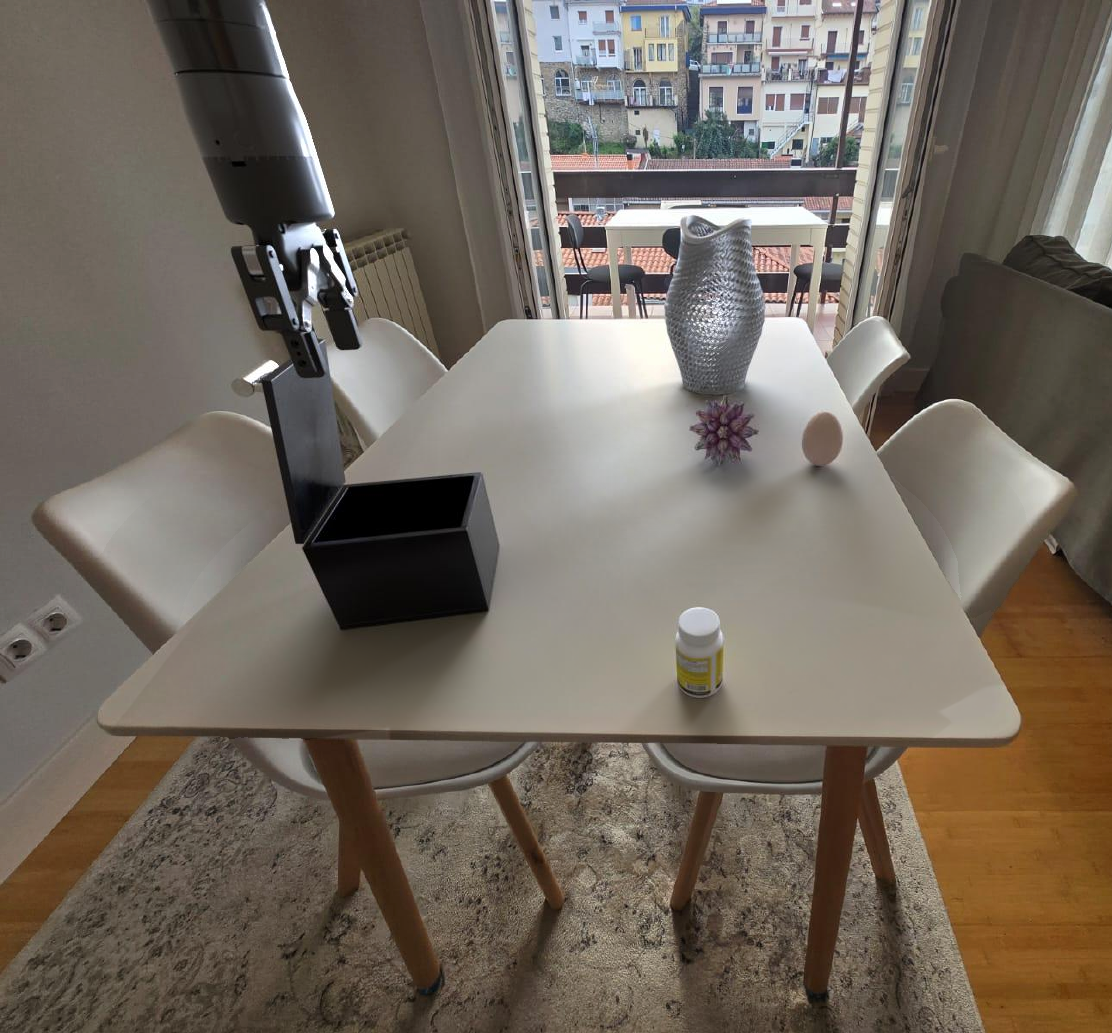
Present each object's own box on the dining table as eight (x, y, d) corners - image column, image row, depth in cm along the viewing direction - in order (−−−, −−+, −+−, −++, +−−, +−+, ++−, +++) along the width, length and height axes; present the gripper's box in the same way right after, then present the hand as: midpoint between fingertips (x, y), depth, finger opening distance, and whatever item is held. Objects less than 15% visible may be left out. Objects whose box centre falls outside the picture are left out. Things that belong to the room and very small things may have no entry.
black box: (499, 546, 79) (482, 471, 72) (489, 611, 68) (467, 530, 61) (373, 560, 76) (343, 484, 70) (340, 630, 65) (301, 547, 59)
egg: (844, 472, 96) (853, 418, 90) (805, 475, 95) (812, 421, 90) (831, 454, 101) (838, 403, 96) (794, 456, 101) (800, 405, 95)
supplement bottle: (706, 657, 61) (706, 598, 56) (731, 685, 58) (734, 625, 53) (668, 675, 59) (665, 616, 54) (692, 707, 56) (691, 646, 51)
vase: (653, 395, 127) (645, 221, 108) (682, 365, 145) (680, 210, 126) (750, 405, 122) (759, 223, 103) (768, 372, 139) (779, 212, 120)
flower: (762, 475, 98) (704, 478, 92) (727, 446, 107) (672, 447, 101) (780, 412, 93) (719, 412, 87) (741, 387, 101) (684, 385, 96)
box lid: (325, 339, 61) (271, 332, 60) (271, 381, 50) (202, 374, 48) (345, 481, 70) (299, 478, 68) (303, 544, 58) (246, 542, 57)
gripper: (254, 154, 49) (322, 343, 57) (144, 150, 37) (249, 390, 45) (346, 153, 50) (399, 340, 58) (267, 149, 38) (348, 385, 46)
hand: (333, 362), depth 52 cm, fingers open, 8 cm apart
